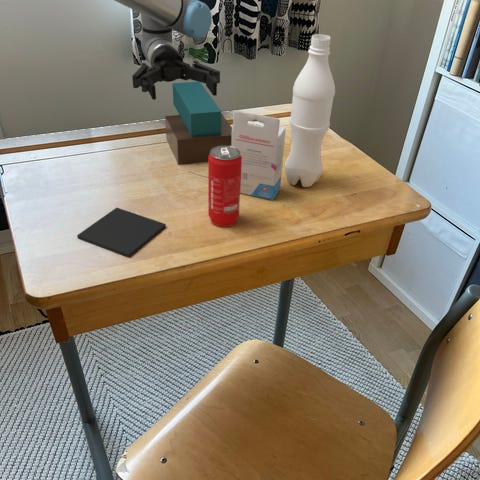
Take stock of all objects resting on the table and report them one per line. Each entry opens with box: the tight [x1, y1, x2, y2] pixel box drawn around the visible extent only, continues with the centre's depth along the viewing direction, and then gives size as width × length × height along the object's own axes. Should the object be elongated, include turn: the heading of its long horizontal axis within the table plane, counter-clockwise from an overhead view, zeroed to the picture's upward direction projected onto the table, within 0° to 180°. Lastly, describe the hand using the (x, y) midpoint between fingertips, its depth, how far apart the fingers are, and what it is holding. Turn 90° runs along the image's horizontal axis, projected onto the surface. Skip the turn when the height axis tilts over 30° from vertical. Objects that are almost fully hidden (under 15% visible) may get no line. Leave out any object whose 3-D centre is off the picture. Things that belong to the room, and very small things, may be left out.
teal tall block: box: [172, 81, 223, 136], centre depth 105 cm, size 19×6×4 cm, turn 17°
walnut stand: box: [164, 113, 233, 165], centre depth 105 cm, size 12×12×5 cm
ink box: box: [232, 110, 287, 201], centre depth 90 cm, size 8×5×15 cm, turn 70°
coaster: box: [76, 207, 167, 258], centre depth 83 cm, size 10×10×1 cm
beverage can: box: [207, 146, 242, 228], centre depth 83 cm, size 5×5×12 cm
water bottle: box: [284, 33, 336, 188], centre depth 90 cm, size 7×7×25 cm
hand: (185, 91), depth 111 cm, fingers open, 13 cm apart
